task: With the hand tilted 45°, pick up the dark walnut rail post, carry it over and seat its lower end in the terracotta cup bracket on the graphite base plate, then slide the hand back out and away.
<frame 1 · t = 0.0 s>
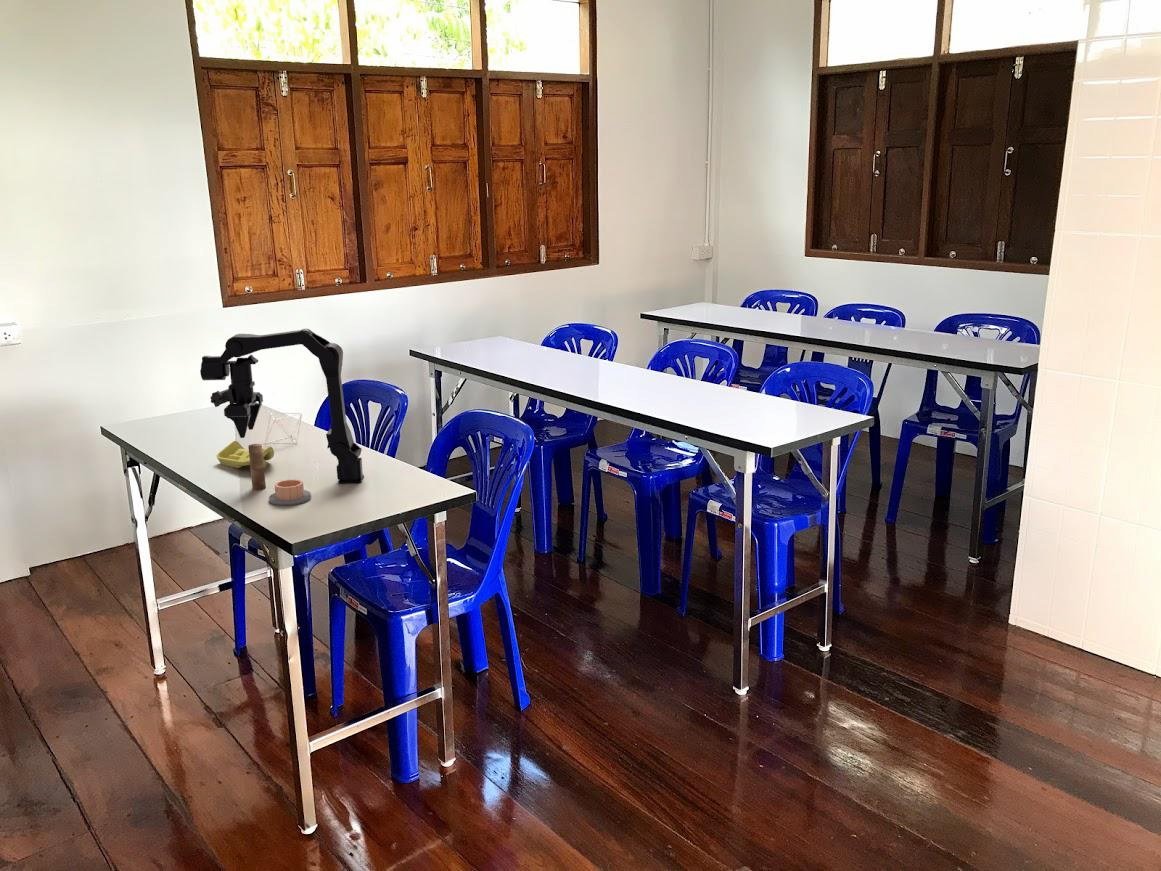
hand: (246, 433, 275), 15 cm above the table, tool pointing down, fingers open, 9 cm apart
walnut rail post: (259, 487, 274), on the table
geometric polyhedron: (284, 441, 323), on the table
cup bracket: (290, 499, 264), on the table
plastic component: (248, 466, 296), on the table
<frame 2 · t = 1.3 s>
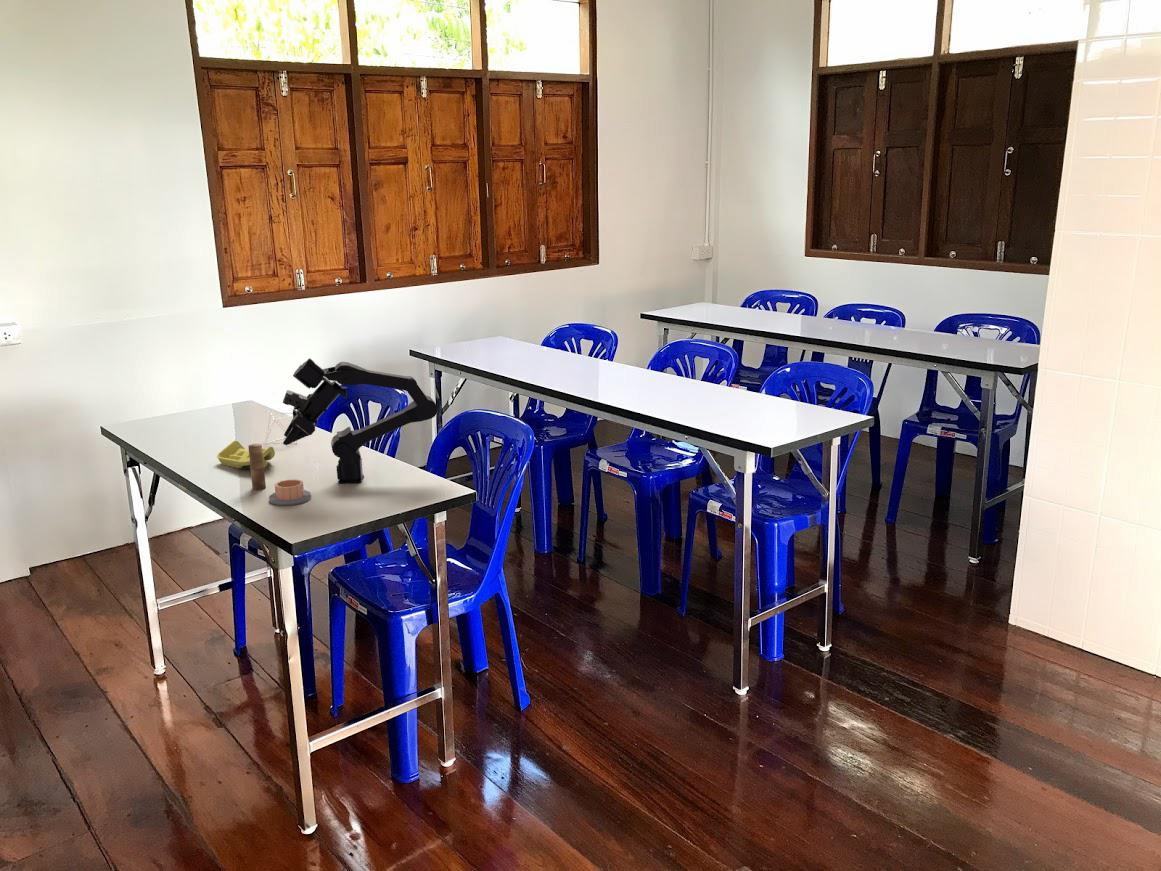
hand: (284, 440, 272), 13 cm above the table, tool tilted 45°, fingers open, 9 cm apart
nothing on the table moved.
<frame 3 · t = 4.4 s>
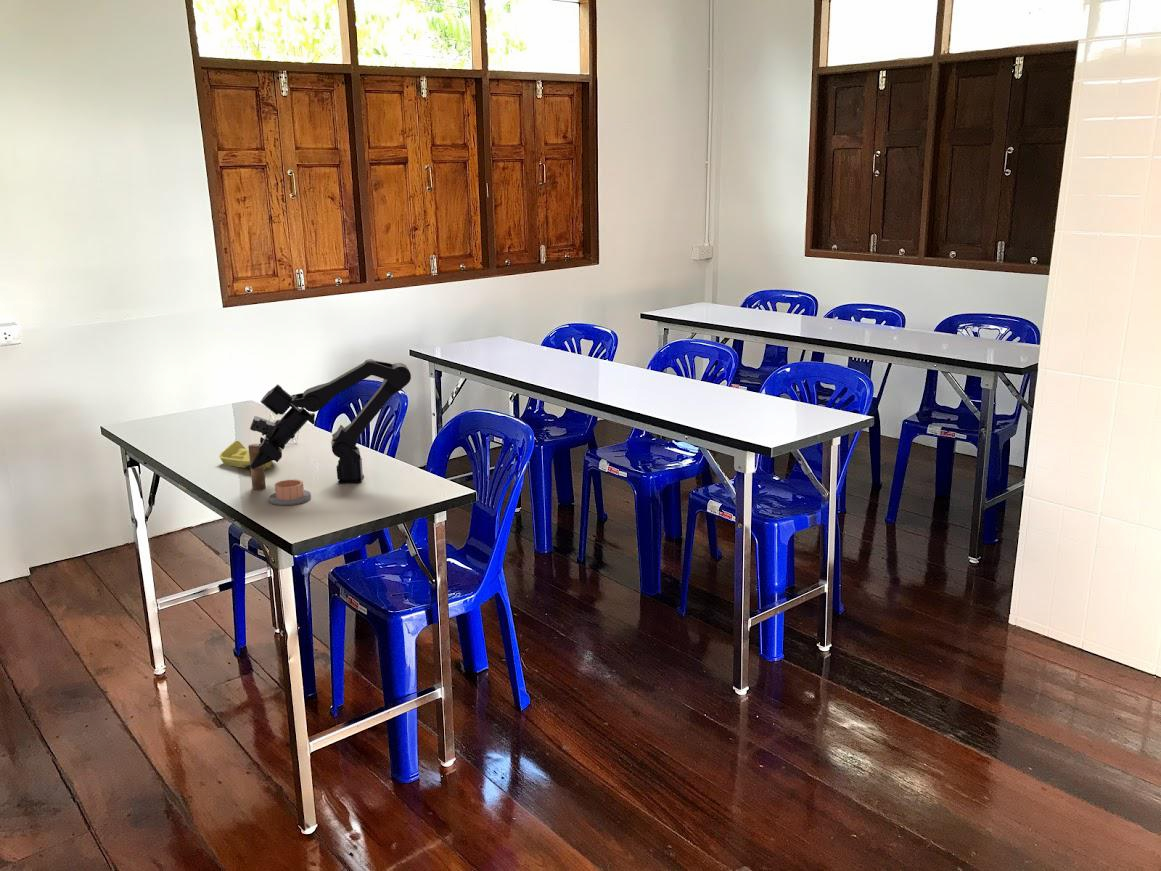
hand: (251, 465, 272), 7 cm above the table, tool tilted 45°, fingers closed on walnut rail post, 4 cm apart
walnut rail post: (259, 487, 274), on the table, touching gripper
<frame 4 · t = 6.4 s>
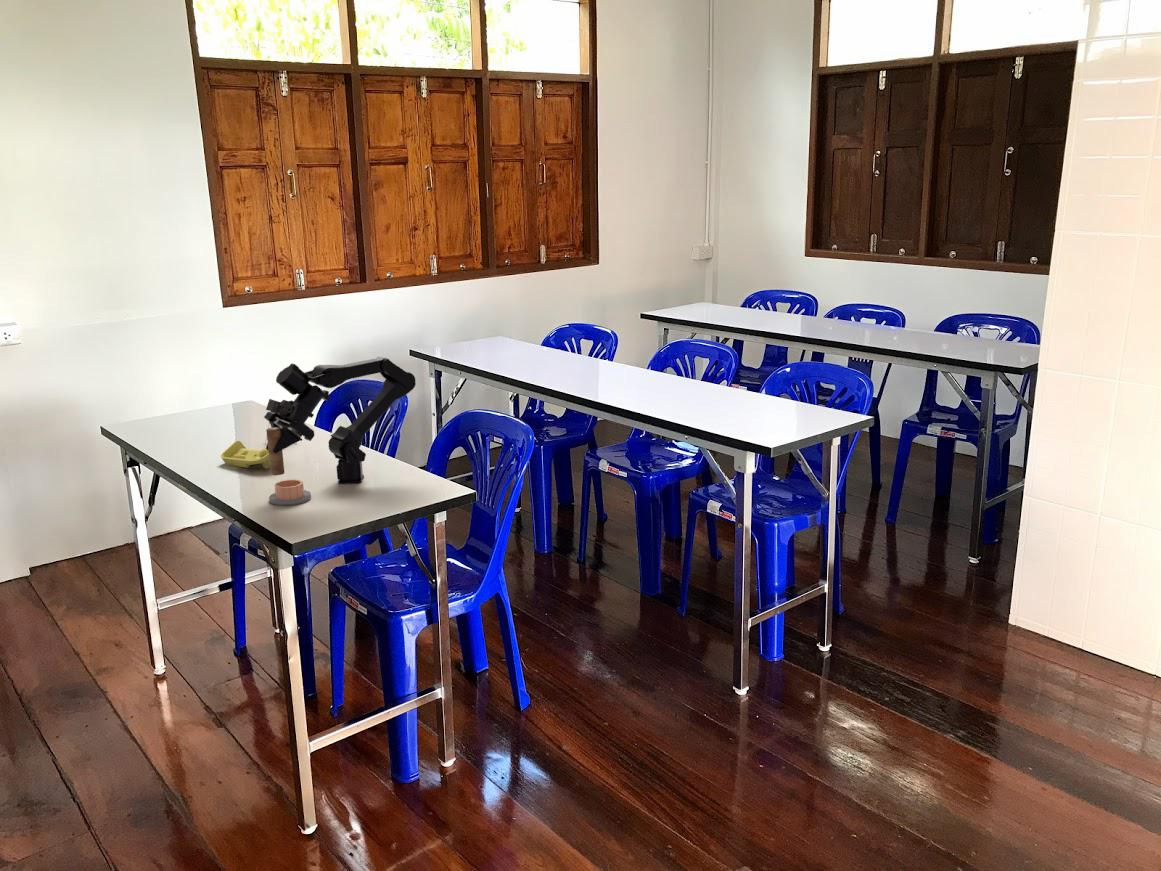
hand: (270, 451, 261), 13 cm above the table, tool tilted 45°, fingers closed on walnut rail post, 4 cm apart
walnut rail post: (277, 473, 264), point 7 cm above the table, touching gripper
when the fingers open (9 cm above the table, at t = 8.4 s): walnut rail post drops 2 cm, resting on cup bracket.
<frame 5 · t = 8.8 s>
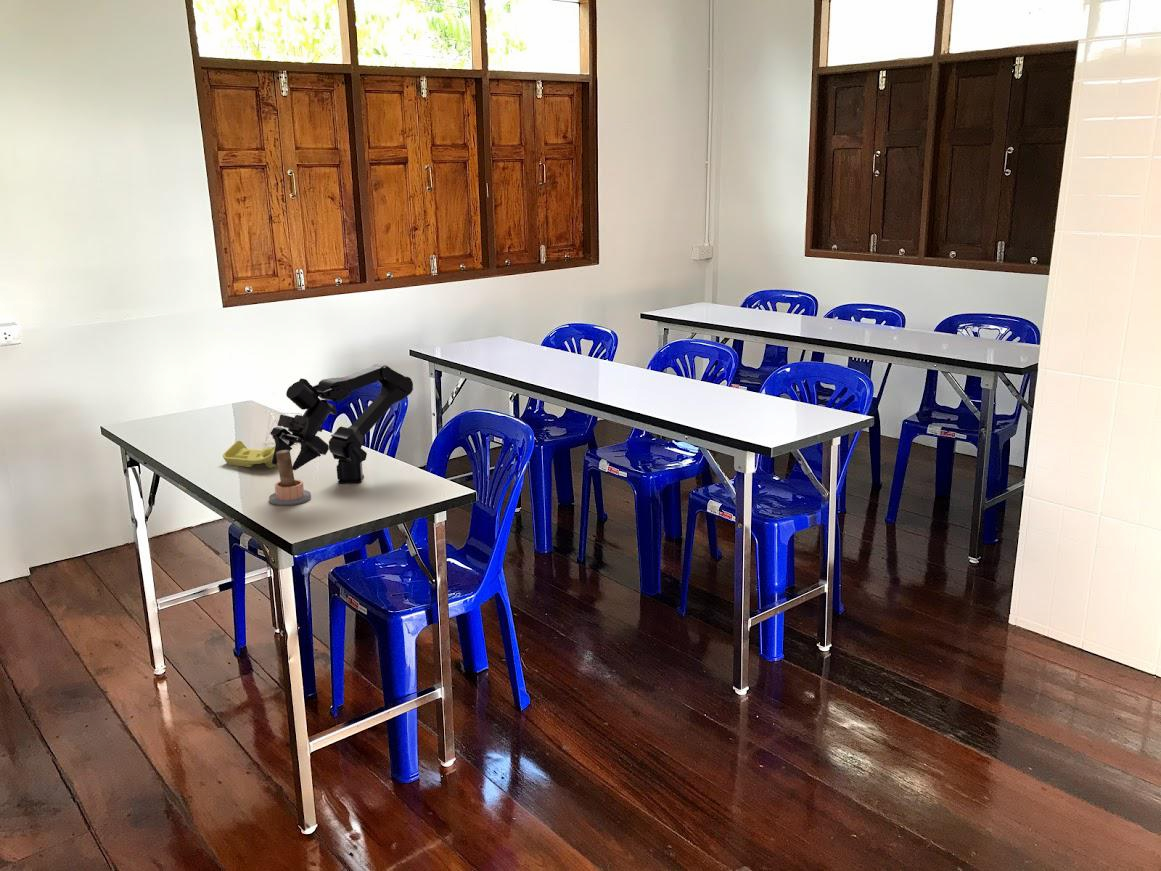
hand: (283, 466, 261), 10 cm above the table, tool tilted 45°, fingers open, 8 cm apart
walnut rail post: (289, 495, 264), point 1 cm above the table, tilted 6°, touching cup bracket
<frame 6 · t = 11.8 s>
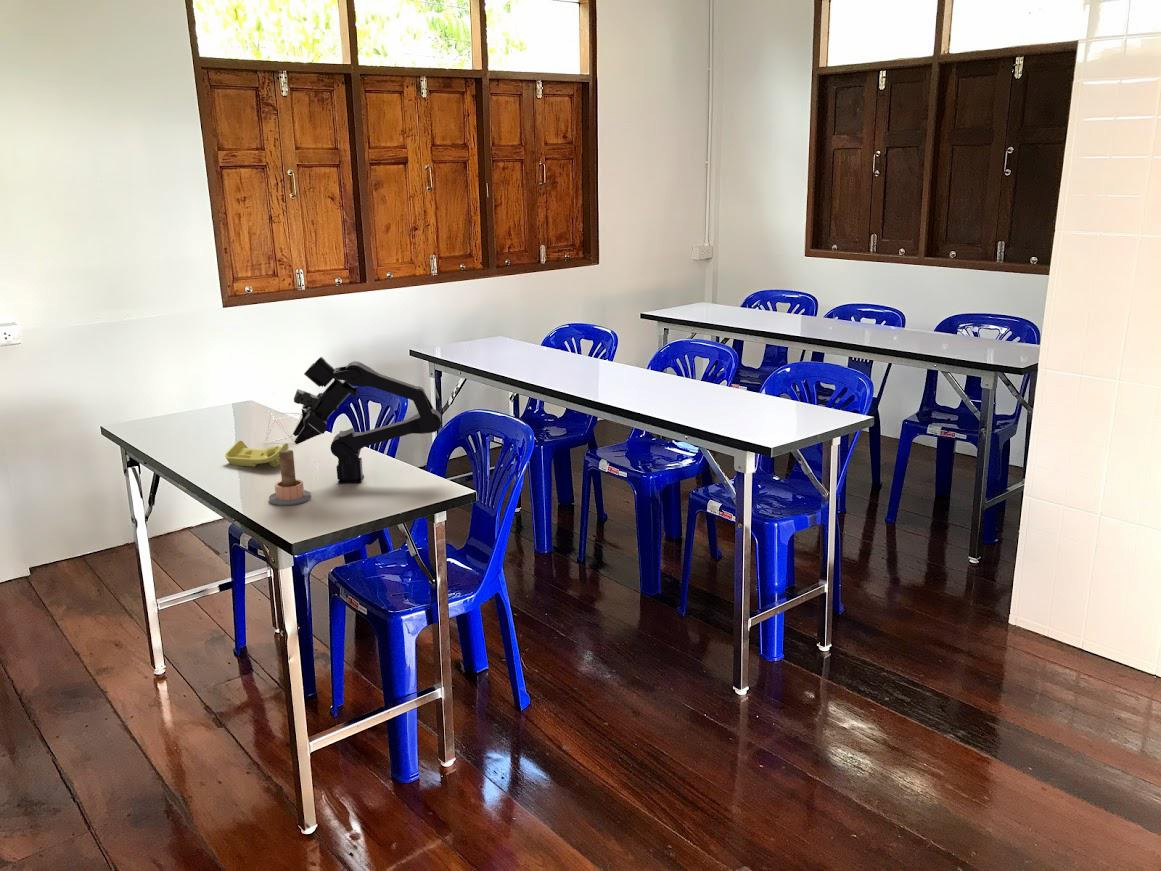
hand: (294, 439, 273), 14 cm above the table, tool tilted 45°, fingers open, 9 cm apart
walnut rail post: (290, 495, 264), point 1 cm above the table, touching cup bracket
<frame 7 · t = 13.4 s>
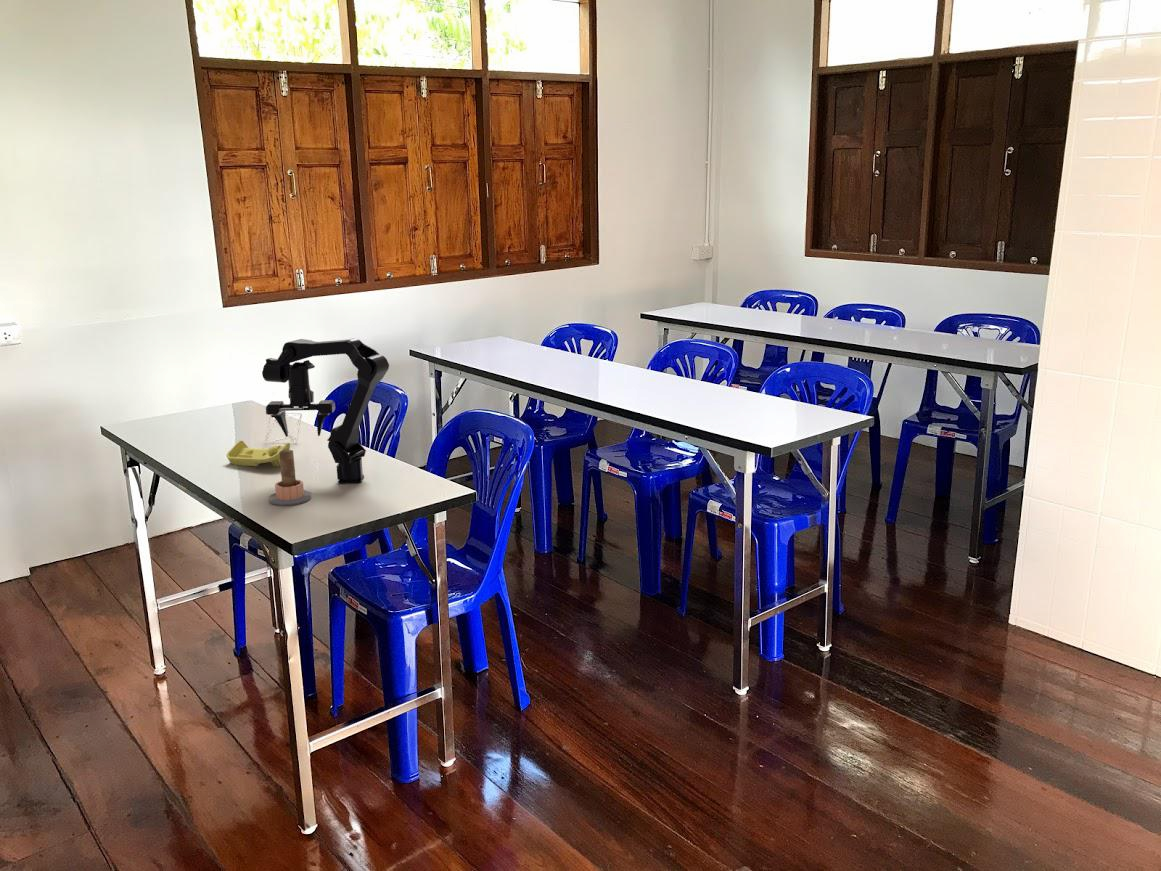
hand: (303, 436, 282), 12 cm above the table, tool pointing down, fingers open, 9 cm apart
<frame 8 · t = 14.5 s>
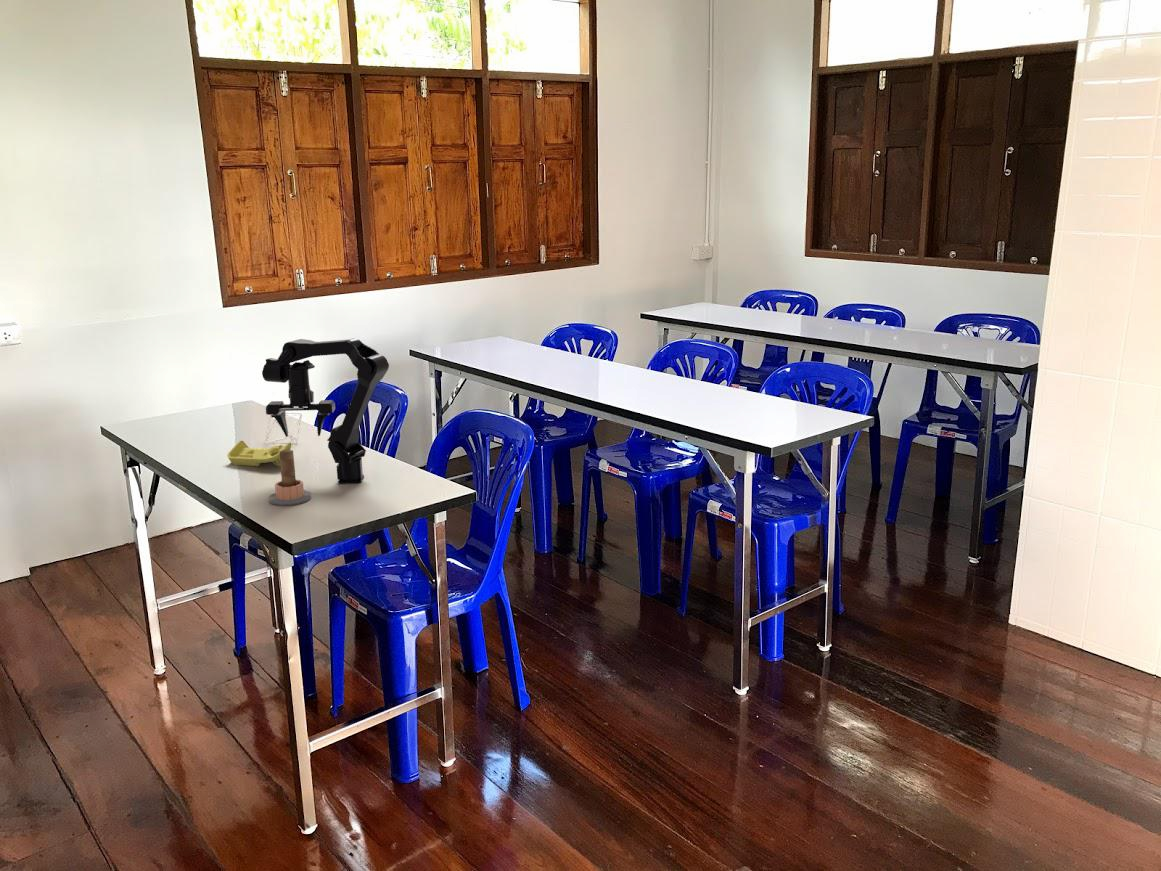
hand: (303, 436, 282), 12 cm above the table, tool pointing down, fingers open, 9 cm apart
at the end: walnut rail post 0.0 cm off-centre on the cup bracket, point 1.0 cm above the cup bracket's base; walnut rail post tilted 0°; the gripper is holding nothing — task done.
